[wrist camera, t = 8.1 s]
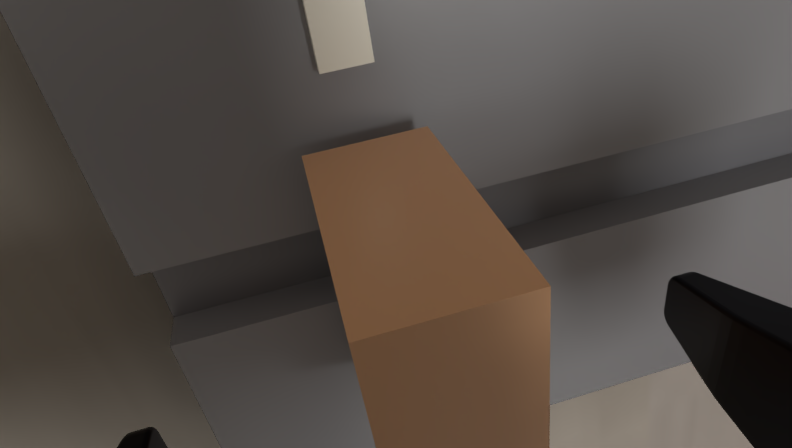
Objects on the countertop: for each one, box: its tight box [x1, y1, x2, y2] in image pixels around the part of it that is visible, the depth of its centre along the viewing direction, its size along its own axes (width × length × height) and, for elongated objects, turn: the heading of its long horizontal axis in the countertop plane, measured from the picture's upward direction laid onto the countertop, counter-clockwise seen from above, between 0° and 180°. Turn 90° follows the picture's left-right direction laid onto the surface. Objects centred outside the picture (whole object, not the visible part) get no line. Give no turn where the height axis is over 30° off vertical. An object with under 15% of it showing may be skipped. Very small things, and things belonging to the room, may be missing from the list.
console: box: [0, 0, 792, 448], centre depth 14 cm, size 14×22×2 cm, turn 98°
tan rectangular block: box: [302, 126, 551, 448], centre depth 11 cm, size 6×2×6 cm, turn 8°
